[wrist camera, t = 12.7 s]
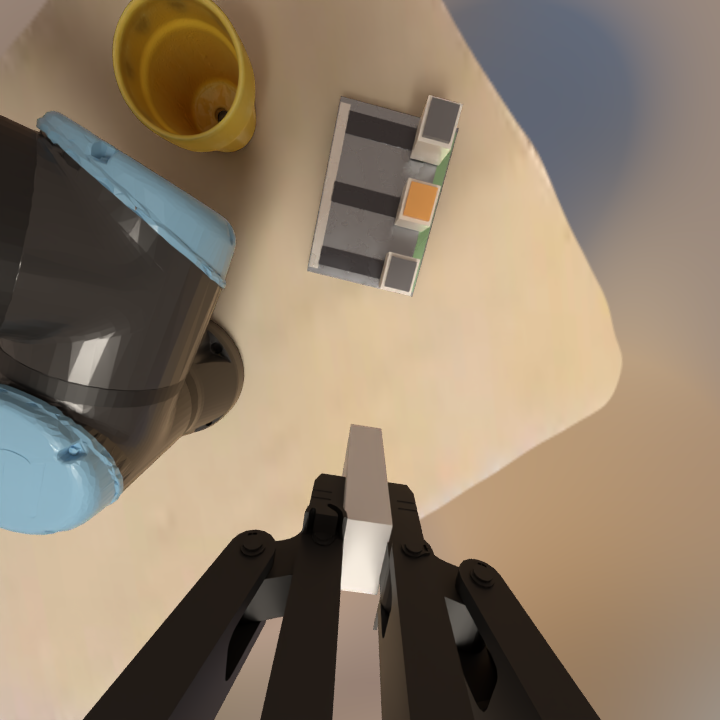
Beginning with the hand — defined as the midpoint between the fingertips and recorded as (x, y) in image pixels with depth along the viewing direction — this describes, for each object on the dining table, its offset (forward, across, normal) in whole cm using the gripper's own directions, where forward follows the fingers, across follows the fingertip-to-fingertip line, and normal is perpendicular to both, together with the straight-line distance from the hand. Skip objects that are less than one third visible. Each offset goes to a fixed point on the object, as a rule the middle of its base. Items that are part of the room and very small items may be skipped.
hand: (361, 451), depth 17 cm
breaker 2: (+24, +3, +15) cm, 28 cm away
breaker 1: (+24, +3, +22) cm, 32 cm away
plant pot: (+26, -18, +21) cm, 38 cm away
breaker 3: (+24, +2, +9) cm, 25 cm away
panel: (+26, -1, +15) cm, 30 cm away
